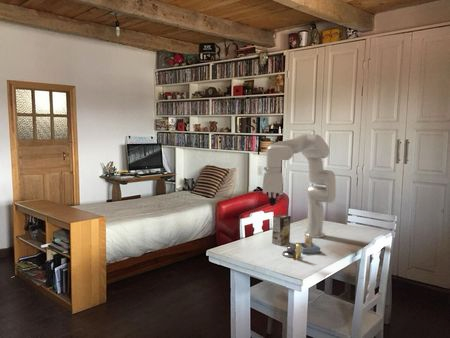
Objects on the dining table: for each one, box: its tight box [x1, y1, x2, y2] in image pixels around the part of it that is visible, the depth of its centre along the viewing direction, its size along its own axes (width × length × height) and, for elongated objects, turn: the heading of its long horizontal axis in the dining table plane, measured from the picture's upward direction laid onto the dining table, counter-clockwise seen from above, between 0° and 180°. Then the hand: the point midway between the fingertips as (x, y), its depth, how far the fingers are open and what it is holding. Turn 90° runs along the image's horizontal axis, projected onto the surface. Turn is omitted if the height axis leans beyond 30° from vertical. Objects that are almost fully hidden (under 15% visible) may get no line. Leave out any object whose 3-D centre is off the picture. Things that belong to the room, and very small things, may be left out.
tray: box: [295, 241, 321, 255], centre depth 214 cm, size 10×10×3 cm
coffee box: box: [271, 214, 292, 246], centre depth 227 cm, size 9×6×16 cm
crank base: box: [282, 250, 300, 261], centre depth 205 cm, size 12×9×1 cm
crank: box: [286, 243, 302, 259], centre depth 202 cm, size 11×4×7 cm, turn 18°
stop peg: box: [304, 235, 314, 248], centre depth 214 cm, size 4×4×7 cm
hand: (272, 205), depth 202 cm, fingers closed
